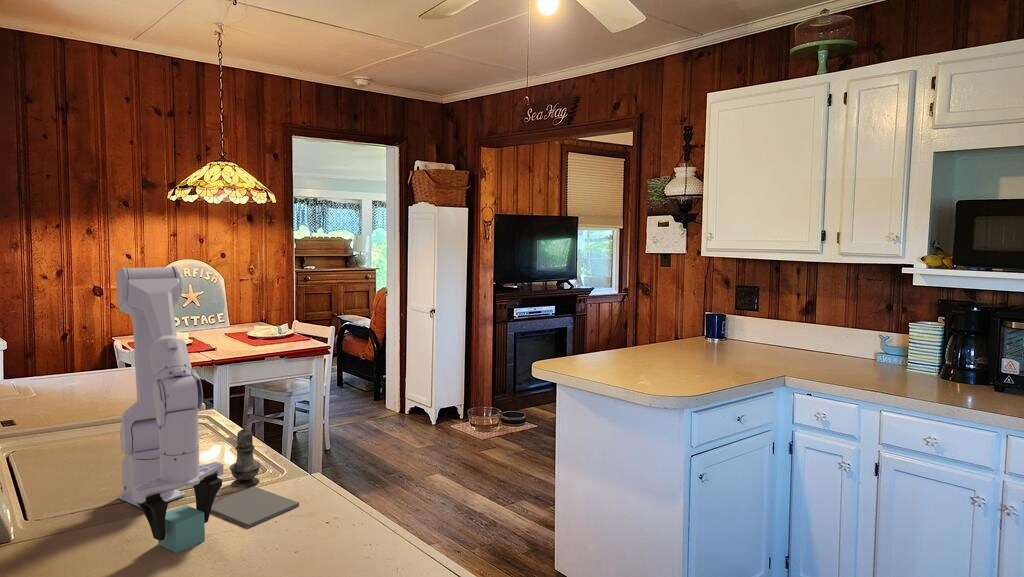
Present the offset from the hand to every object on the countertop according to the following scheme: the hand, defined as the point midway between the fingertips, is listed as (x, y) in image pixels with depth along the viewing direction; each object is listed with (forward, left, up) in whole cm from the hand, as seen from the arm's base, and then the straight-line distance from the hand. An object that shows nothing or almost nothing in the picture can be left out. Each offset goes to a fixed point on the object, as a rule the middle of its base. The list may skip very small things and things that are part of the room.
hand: (181, 529), depth 111 cm
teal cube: (0, 0, -2) cm, 2 cm away
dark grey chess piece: (-13, +22, -3) cm, 25 cm away
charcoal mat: (-2, +15, -2) cm, 15 cm away
